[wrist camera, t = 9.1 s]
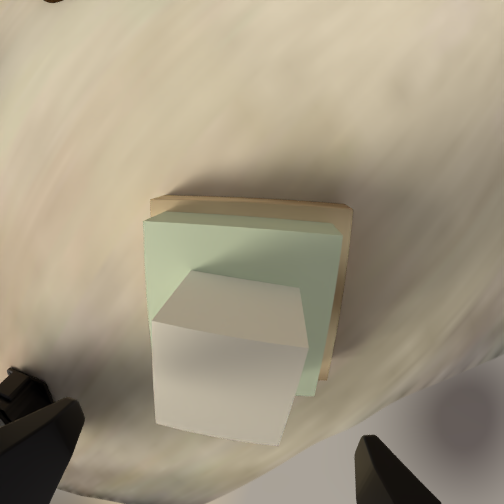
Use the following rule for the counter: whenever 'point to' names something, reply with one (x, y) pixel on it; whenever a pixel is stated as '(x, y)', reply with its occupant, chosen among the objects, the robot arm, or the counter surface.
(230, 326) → the cube
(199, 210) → the tower base
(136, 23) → the counter surface
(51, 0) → the wooden chess piece
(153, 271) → the tower top
